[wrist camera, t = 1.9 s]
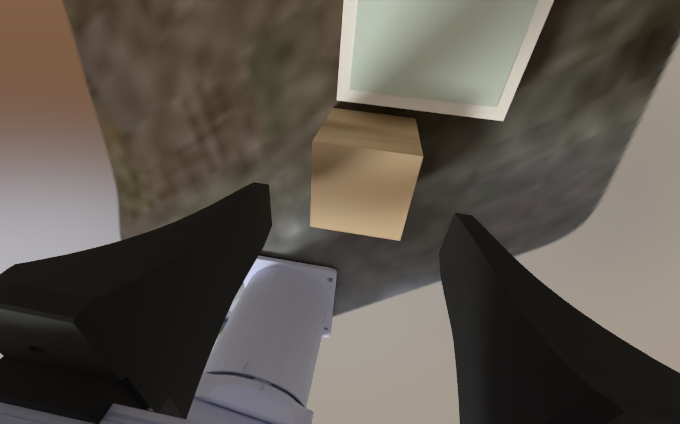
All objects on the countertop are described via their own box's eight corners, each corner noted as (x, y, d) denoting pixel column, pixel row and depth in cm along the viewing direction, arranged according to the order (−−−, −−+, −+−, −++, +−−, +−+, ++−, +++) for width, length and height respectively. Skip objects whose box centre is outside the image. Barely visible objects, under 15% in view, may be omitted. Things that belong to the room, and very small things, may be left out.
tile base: (489, 107, 14) (503, 121, 13) (343, 89, 15) (336, 100, 13) (573, -112, 10) (613, -139, 8) (361, -125, 10) (354, -154, 9)
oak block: (398, 189, 18) (400, 240, 14) (328, 178, 18) (310, 226, 14) (415, 117, 15) (423, 156, 11) (333, 107, 16) (312, 141, 12)
